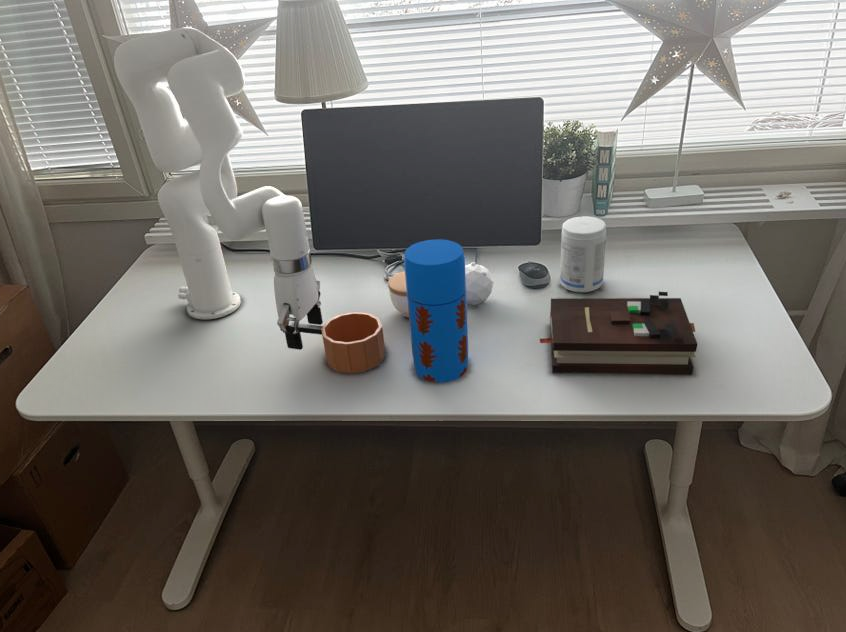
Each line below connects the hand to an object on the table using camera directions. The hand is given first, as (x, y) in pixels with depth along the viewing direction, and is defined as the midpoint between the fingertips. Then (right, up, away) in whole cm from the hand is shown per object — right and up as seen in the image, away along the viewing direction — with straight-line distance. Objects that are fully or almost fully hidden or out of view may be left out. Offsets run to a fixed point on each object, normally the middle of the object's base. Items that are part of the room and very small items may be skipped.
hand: (305, 335), depth 147 cm
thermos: (+28, -7, -7) cm, 29 cm away
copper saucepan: (+7, -4, 0) cm, 8 cm away
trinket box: (+23, +6, +12) cm, 27 cm away
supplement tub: (+61, +12, +16) cm, 64 cm away
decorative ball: (+37, +9, +15) cm, 41 cm away
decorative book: (+62, -3, -7) cm, 63 cm away
